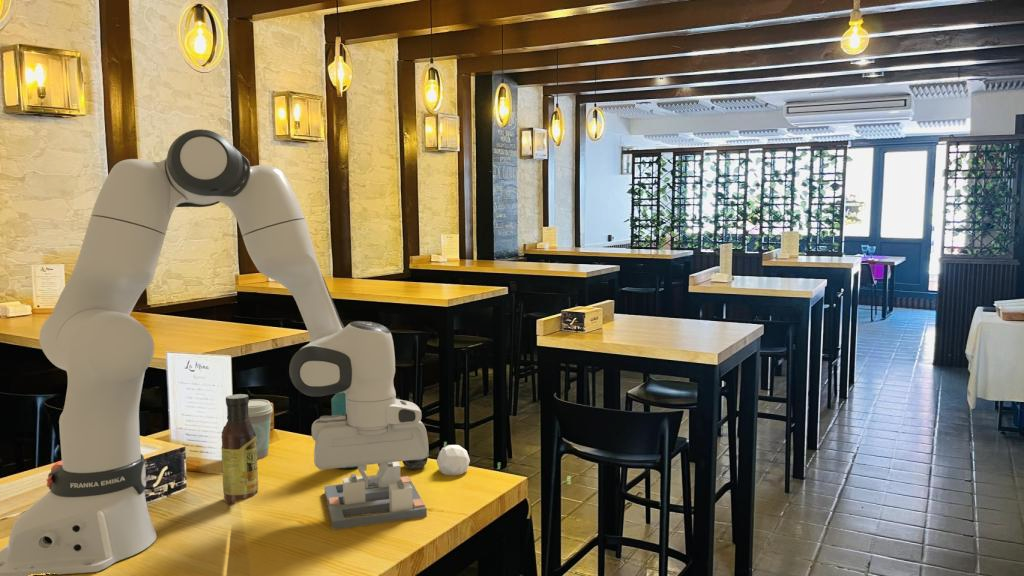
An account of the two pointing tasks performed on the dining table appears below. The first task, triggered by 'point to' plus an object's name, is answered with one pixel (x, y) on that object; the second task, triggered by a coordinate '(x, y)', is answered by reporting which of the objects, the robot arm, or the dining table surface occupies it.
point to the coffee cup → (260, 424)
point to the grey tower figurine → (416, 463)
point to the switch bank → (369, 507)
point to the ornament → (453, 460)
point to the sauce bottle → (239, 451)
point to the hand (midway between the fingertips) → (372, 486)
